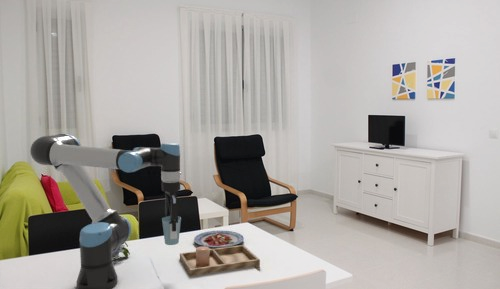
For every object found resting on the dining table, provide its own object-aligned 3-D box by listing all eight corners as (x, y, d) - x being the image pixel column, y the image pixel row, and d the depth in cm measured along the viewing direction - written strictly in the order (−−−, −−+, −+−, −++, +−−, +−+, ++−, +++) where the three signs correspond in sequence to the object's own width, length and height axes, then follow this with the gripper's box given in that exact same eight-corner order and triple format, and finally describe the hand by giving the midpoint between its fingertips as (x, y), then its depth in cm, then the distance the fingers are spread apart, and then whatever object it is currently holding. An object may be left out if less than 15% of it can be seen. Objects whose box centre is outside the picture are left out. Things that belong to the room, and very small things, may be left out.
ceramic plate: (184, 241, 213) (184, 235, 212) (222, 231, 230) (222, 226, 230) (214, 255, 194) (214, 249, 193) (254, 242, 211) (254, 237, 211)
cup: (183, 244, 166) (183, 219, 165) (164, 247, 163) (164, 221, 162) (178, 239, 173) (178, 215, 172) (160, 241, 170) (160, 217, 169)
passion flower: (111, 272, 185) (93, 254, 182) (115, 259, 196) (99, 241, 192) (131, 259, 185) (114, 240, 181) (134, 246, 195) (118, 228, 191)
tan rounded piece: (197, 267, 175) (197, 252, 175) (194, 262, 181) (194, 247, 180) (211, 265, 178) (211, 250, 177) (207, 260, 183) (207, 245, 182)
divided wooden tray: (190, 278, 167) (190, 270, 167) (179, 260, 186) (179, 253, 185) (259, 267, 179) (259, 259, 178) (243, 252, 197) (243, 245, 197)
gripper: (185, 185, 158) (186, 242, 160) (175, 176, 177) (175, 227, 179) (166, 186, 155) (167, 244, 157) (157, 177, 174) (158, 229, 176)
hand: (171, 235), depth 168 cm, fingers closed on cup, 8 cm apart
